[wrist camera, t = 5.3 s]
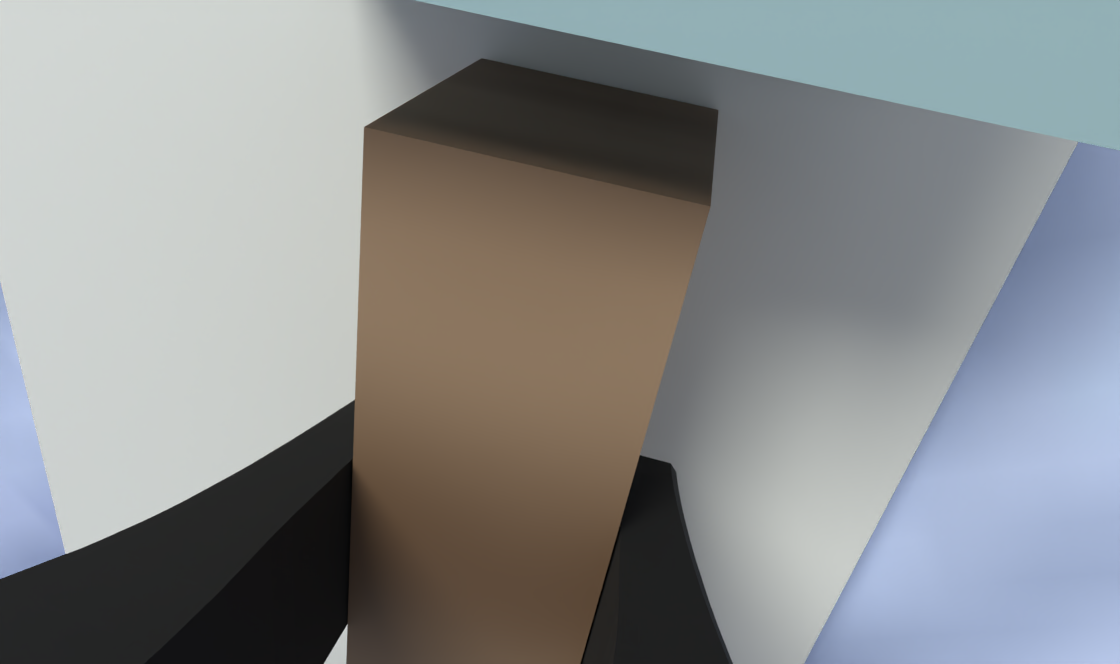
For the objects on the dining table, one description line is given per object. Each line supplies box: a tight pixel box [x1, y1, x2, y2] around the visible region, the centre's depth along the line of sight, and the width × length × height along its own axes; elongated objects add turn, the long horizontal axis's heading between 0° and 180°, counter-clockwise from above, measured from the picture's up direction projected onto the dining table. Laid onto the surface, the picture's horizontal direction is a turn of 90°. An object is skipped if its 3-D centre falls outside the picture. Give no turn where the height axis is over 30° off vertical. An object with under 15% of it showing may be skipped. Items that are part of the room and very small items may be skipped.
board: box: [0, 0, 1078, 664], centre depth 10 cm, size 26×15×1 cm, turn 170°
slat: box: [346, 58, 718, 664], centre depth 10 cm, size 10×3×4 cm, turn 170°
